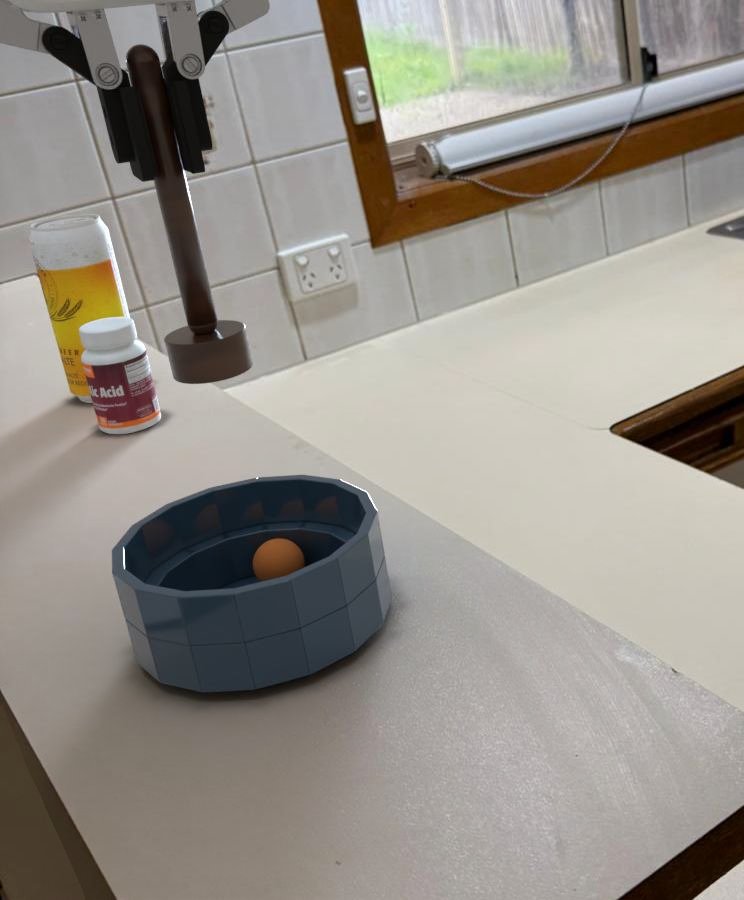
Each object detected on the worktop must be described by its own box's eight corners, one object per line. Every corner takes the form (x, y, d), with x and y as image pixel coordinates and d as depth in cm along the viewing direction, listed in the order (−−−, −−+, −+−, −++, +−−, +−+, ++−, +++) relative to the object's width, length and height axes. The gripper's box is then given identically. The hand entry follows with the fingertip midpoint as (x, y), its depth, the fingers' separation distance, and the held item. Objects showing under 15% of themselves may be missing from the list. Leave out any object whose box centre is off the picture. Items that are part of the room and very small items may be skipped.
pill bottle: (86, 433, 90) (58, 332, 87) (128, 411, 94) (103, 313, 91) (134, 437, 89) (108, 335, 85) (174, 414, 93) (151, 315, 89)
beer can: (70, 390, 100) (23, 220, 94) (142, 375, 103) (101, 209, 97) (75, 410, 95) (26, 233, 89) (151, 394, 98) (108, 220, 92)
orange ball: (251, 599, 63) (241, 555, 62) (265, 574, 66) (256, 531, 65) (301, 596, 63) (292, 552, 62) (313, 571, 66) (305, 528, 65)
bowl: (98, 709, 56) (66, 604, 53) (189, 573, 68) (166, 482, 65) (365, 694, 55) (345, 587, 53) (409, 560, 67) (394, 468, 65)
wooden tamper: (162, 387, 54) (78, 51, 48) (188, 360, 58) (113, 44, 52) (240, 381, 54) (166, 43, 48) (262, 355, 58) (195, 37, 52)
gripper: (236, -278, 51) (310, 141, 59) (-164, -281, 44) (-23, 192, 52) (280, -317, 45) (358, 156, 52) (-175, -328, 38) (-13, 215, 46)
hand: (168, 171), depth 52 cm, fingers closed on wooden tamper, 1 cm apart
